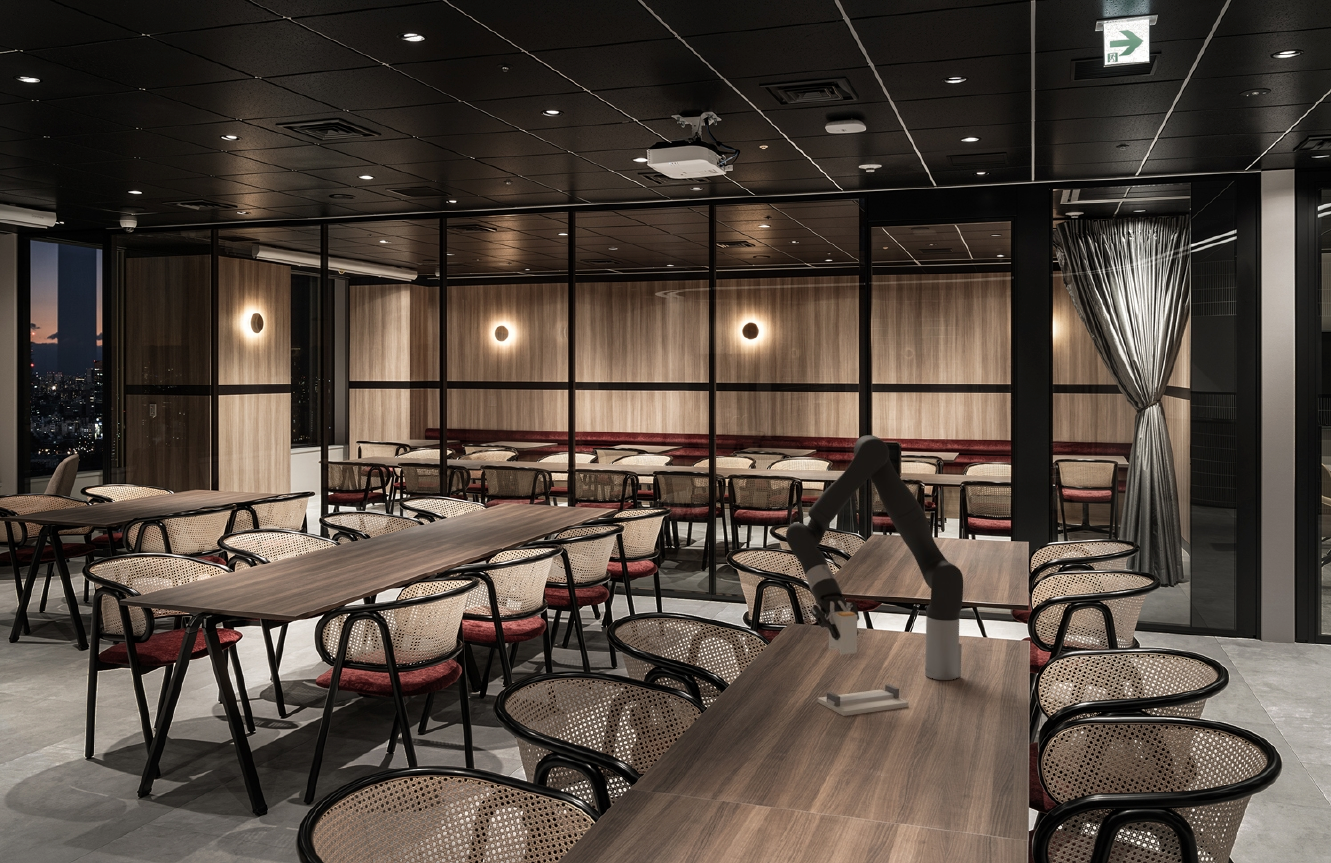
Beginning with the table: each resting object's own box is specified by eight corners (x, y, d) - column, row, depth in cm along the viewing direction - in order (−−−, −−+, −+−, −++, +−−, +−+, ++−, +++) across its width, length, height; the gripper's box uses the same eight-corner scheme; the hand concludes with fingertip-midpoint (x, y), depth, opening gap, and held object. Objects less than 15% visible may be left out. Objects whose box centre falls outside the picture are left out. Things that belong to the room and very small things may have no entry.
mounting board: (880, 693, 274) (881, 680, 274) (908, 706, 263) (908, 692, 263) (817, 702, 266) (818, 688, 266) (843, 715, 255) (844, 701, 255)
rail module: (844, 647, 277) (844, 608, 276) (856, 652, 271) (857, 613, 271) (828, 649, 275) (829, 610, 274) (841, 654, 269) (841, 614, 269)
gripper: (806, 579, 276) (829, 632, 266) (850, 575, 282) (875, 627, 271) (796, 594, 281) (818, 647, 271) (839, 590, 287) (863, 642, 276)
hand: (846, 637), depth 271 cm, fingers closed on rail module, 5 cm apart
